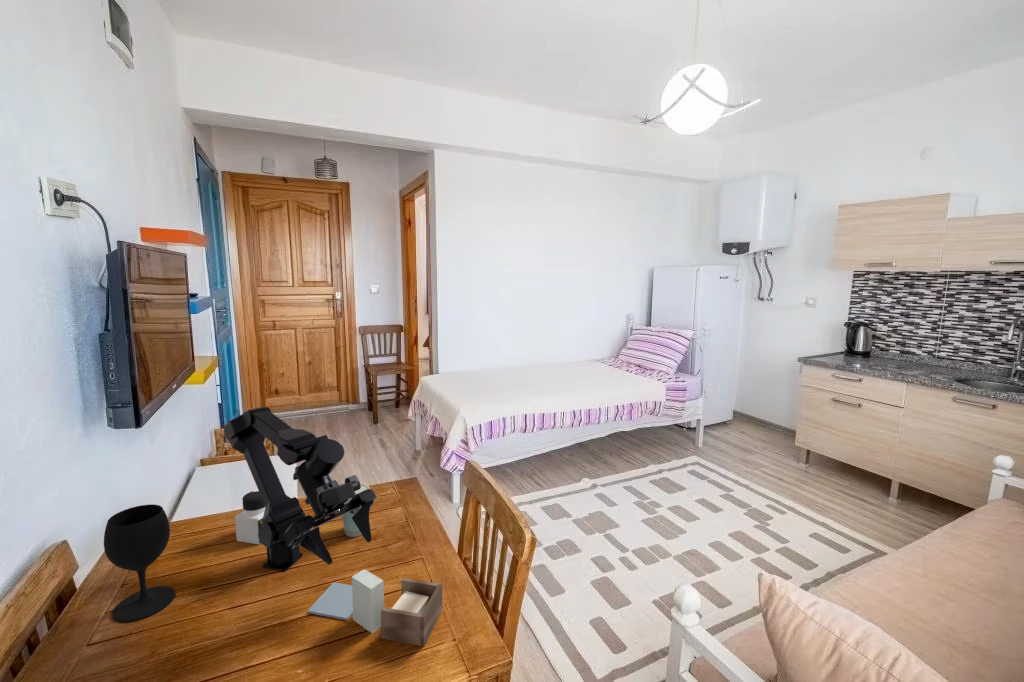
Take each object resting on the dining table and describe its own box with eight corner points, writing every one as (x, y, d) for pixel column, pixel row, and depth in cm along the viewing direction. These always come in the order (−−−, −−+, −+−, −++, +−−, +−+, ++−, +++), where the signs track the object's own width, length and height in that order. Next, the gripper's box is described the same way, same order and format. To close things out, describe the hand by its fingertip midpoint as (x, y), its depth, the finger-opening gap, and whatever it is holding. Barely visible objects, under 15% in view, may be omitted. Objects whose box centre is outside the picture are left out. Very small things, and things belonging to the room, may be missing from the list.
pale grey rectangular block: (353, 619, 91) (351, 576, 89) (365, 611, 93) (364, 569, 92) (372, 633, 87) (370, 588, 86) (384, 624, 90) (383, 580, 89)
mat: (307, 612, 92) (307, 610, 92) (333, 584, 101) (333, 582, 101) (347, 620, 91) (347, 618, 90) (370, 590, 99) (369, 588, 99)
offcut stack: (389, 633, 88) (388, 612, 87) (404, 610, 94) (403, 590, 93) (418, 639, 86) (417, 618, 86) (431, 615, 93) (431, 595, 92)
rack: (381, 638, 86) (380, 610, 85) (403, 603, 95) (402, 577, 95) (424, 646, 84) (424, 617, 84) (442, 610, 94) (442, 584, 93)
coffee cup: (360, 519, 128) (358, 479, 127) (379, 529, 123) (378, 488, 122) (333, 532, 121) (331, 491, 120) (352, 544, 116) (350, 500, 115)
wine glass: (104, 629, 87) (93, 533, 84) (120, 596, 96) (111, 508, 93) (170, 612, 92) (161, 521, 89) (179, 582, 101) (172, 498, 98)
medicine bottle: (259, 545, 115) (257, 501, 114) (235, 541, 117) (232, 498, 115) (279, 530, 122) (277, 488, 121) (256, 527, 124) (254, 485, 122)
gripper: (288, 483, 85) (324, 559, 80) (370, 453, 100) (405, 515, 95) (269, 510, 90) (302, 582, 85) (350, 478, 105) (381, 537, 101)
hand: (351, 552), depth 91 cm, fingers open, 9 cm apart
